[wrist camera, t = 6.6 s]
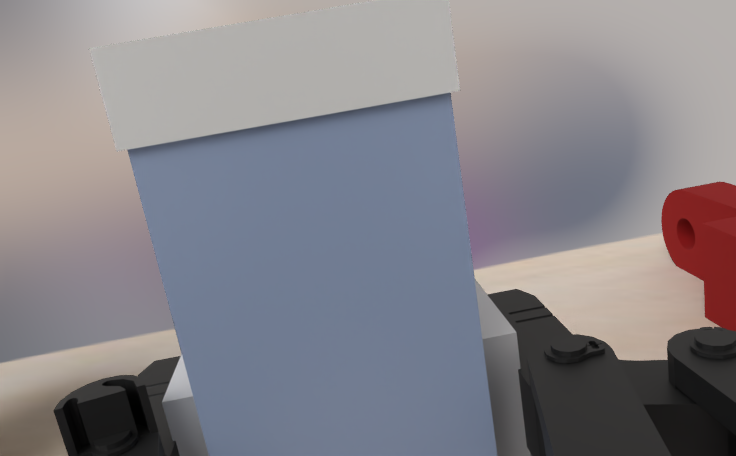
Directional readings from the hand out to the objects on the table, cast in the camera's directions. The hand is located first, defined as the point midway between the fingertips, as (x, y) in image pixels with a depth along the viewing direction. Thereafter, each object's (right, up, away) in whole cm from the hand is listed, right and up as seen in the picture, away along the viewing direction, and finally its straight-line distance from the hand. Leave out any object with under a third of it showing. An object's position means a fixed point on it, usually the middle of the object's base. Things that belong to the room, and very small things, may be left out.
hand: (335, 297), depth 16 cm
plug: (+2, -10, -3) cm, 10 cm away
